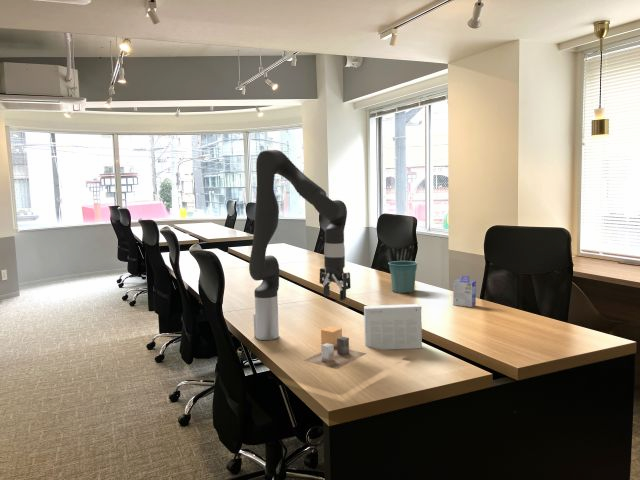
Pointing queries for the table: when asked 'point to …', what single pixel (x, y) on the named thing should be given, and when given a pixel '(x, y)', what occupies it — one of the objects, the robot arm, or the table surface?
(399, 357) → the table surface
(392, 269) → the flower pot
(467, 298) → the ink cartridge box
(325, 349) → the front post
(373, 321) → the skincare box
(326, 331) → the peach wooden cube
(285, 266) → the table surface
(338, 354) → the post board
